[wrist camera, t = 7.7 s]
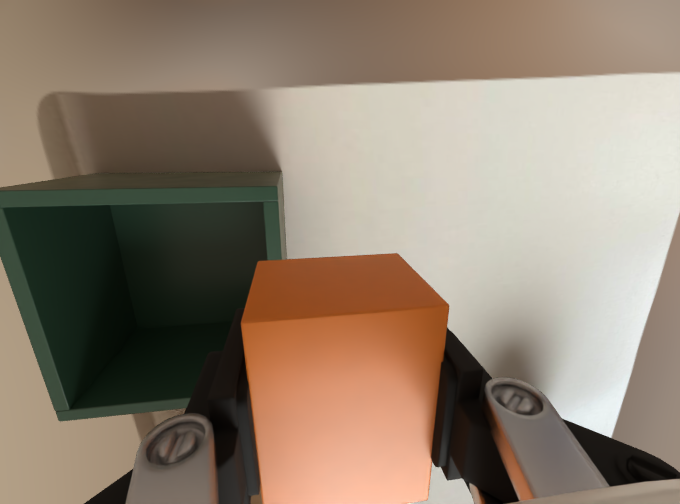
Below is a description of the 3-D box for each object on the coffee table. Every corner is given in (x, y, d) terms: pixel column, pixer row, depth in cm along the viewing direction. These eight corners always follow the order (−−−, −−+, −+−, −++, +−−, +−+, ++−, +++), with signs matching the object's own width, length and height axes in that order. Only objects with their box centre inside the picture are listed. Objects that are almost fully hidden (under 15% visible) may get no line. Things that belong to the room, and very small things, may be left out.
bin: (95, 173, 24) (-24, 190, 15) (282, 171, 26) (277, 186, 17) (132, 333, 28) (58, 422, 19) (290, 321, 30) (290, 397, 21)
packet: (272, 416, 12) (264, 528, 8) (257, 260, 10) (239, 322, 6) (390, 402, 12) (428, 500, 9) (397, 252, 10) (450, 304, 7)
